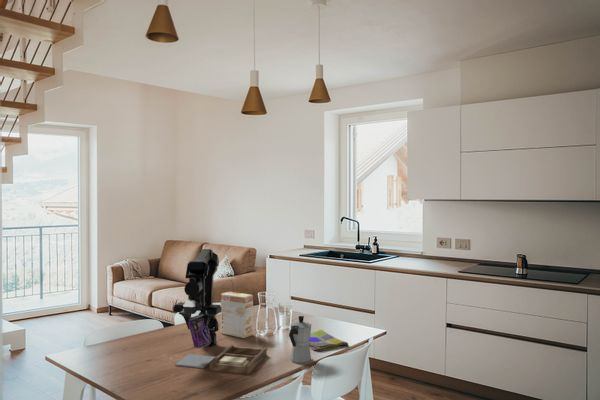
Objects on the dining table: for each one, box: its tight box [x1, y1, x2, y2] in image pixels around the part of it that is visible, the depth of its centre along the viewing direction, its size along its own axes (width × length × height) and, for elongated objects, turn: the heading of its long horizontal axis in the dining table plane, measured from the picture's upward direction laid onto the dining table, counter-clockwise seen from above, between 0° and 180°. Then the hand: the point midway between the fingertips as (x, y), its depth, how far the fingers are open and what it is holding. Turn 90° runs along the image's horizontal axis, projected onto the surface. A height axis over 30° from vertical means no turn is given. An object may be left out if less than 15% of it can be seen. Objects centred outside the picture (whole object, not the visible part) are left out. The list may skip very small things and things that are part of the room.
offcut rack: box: [209, 344, 268, 375], centre depth 191 cm, size 16×22×3 cm
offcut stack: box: [219, 356, 249, 366], centre depth 185 cm, size 11×6×4 cm, turn 78°
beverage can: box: [189, 314, 212, 349], centre depth 190 cm, size 7×7×12 cm
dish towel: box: [308, 329, 349, 352], centre depth 219 cm, size 18×24×3 cm
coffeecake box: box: [220, 291, 254, 339], centre depth 229 cm, size 15×7×20 cm, turn 58°
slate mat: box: [174, 353, 217, 369], centre depth 191 cm, size 12×12×1 cm
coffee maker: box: [288, 315, 312, 364], centre depth 193 cm, size 15×9×18 cm, turn 150°
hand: (197, 329), depth 191 cm, fingers closed on beverage can, 6 cm apart
